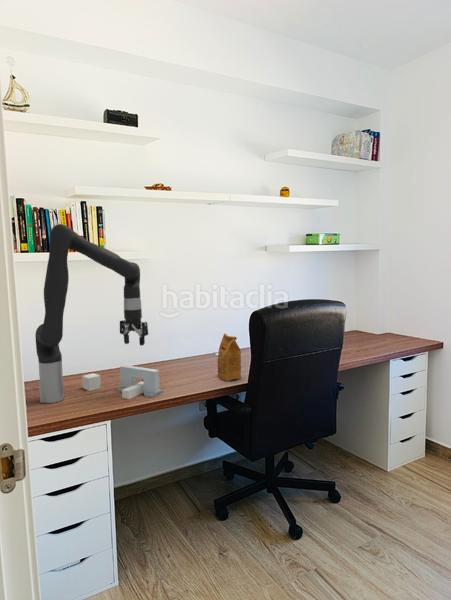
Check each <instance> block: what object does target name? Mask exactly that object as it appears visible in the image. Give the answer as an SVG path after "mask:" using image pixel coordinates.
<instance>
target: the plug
mask: <svg viewBox="0 0 451 600" xmlns="http://www.w3.org/2000/svg"><path fill="white" fill-rule="evenodd" d="M141 379H142V378H141ZM141 394H144V384H143V379H142V380H141V381H139V382H138V383H137V382H136V384H135V385H133V386H130V387H128V388H125V389H123V390H122V392H121V397H122V399H126V400H130V399H132V398H135V397H137V396H138V395H141Z"/></svg>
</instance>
